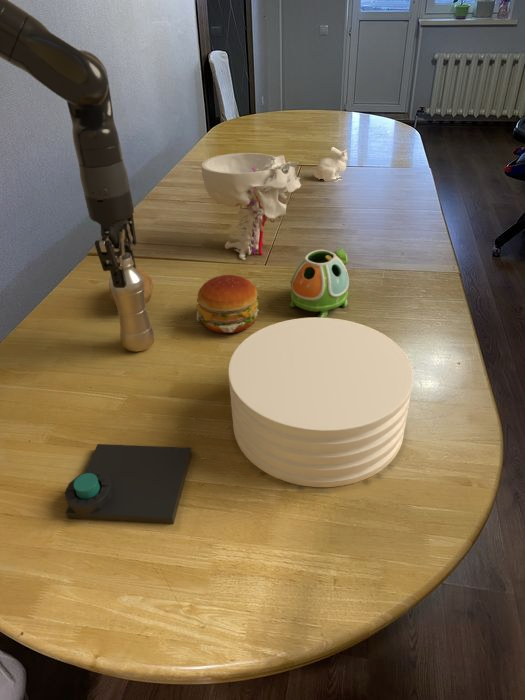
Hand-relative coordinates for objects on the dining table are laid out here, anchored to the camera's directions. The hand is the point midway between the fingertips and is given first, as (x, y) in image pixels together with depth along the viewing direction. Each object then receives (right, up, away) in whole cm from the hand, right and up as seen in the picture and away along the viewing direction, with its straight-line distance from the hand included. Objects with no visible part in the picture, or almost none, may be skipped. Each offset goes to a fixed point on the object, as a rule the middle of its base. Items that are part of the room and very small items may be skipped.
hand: (125, 278), depth 96 cm
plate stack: (+35, -25, -10) cm, 44 cm away
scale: (+7, -33, -20) cm, 39 cm away
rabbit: (+51, +49, +92) cm, 116 cm away
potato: (-4, -3, +23) cm, 24 cm away
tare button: (+1, -33, -24) cm, 41 cm away
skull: (+23, +15, +46) cm, 54 cm away
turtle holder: (+39, -3, +21) cm, 45 cm away
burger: (+18, -7, +16) cm, 25 cm away
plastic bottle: (+1, -13, +9) cm, 16 cm away
